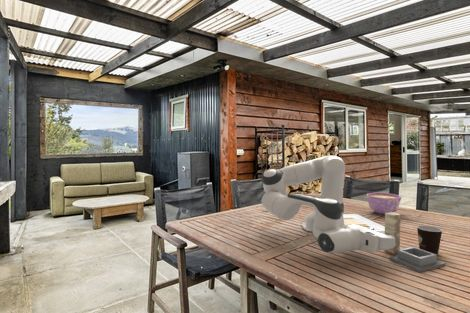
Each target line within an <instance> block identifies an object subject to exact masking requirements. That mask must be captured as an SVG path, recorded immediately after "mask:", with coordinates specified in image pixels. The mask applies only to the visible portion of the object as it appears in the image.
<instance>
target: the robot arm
mask: <svg viewBox="0 0 470 313" xmlns="http://www.w3.org/2000/svg"><path fill="white" fill-rule="evenodd" d="M345 177H346V163H345V161H344V160H343V159H342V158H341V157H339V156H336V155H332V154H331V155H330V154H329V155H325V156H321V157H318V158H314V159H310V160H307V161H303V162H298V163H294V164H290V165H287V166H283V167H282V168H280V169H277V168H268V169H266V170H264V171H263V173H262V174H261V183H262V187H263V190H264V192H265V193H264V194H263V195H262V197H261V205H262V206H263V208H264V209H265V210H266V211H267V212H268V213H270V214H271V215H273V216H274V217H276V218H277V219H281V220H283V221H288V220H292V219H293V218H294V217H296V216H297V214H298V213H299V211H300V209H301V207H302V206H307V207H310V208H313V209H314V210H313V211H311V212H310V213H308V214H307V216H306V219H305V222H302V224H301V228H302V229H303V230H304V231H307V232H312V236H313V238H314V239H315V240H316V241H317V243H318V247H319V248H320V249H321V250H322V251H323V252H325V253H327V254H341V253H346V252H349V251H364V252H370V253H375V254H376V253H378V252H379V251H385V250H387V249H391V248H394V247H395V238H394V237H395V236H394V235H392V234H388V235H386V234H385V233H383V232H379V231H376V230H375V228H373V227H367V226H366V227H365V226H362V225H359V224H357V223H356V224H355V223H352V224H347V225H345V224H346V223H345V219H344V218H345V217H344V213H345V212H344V211H345V205H344V204H345V203H344V184H345V183H344V182H345ZM319 179H321V188H320V197H319V196H315V195H311V194H306V193H300V192H292V193H289V194H288V192H287V187H289V186H296V185H297V186H298V185H301V184H304V183H305V184H306V183H310V182H311V183H312V182H314V181H316V180H319Z"/></svg>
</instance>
